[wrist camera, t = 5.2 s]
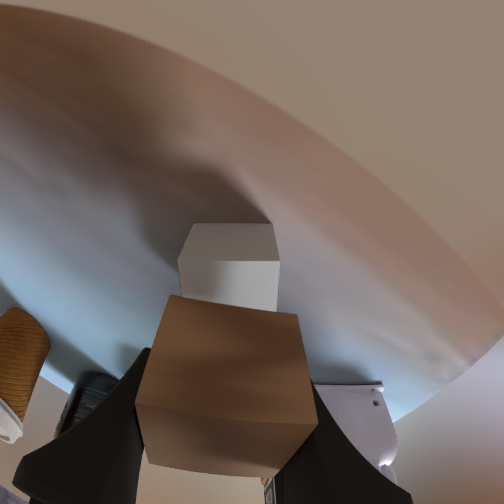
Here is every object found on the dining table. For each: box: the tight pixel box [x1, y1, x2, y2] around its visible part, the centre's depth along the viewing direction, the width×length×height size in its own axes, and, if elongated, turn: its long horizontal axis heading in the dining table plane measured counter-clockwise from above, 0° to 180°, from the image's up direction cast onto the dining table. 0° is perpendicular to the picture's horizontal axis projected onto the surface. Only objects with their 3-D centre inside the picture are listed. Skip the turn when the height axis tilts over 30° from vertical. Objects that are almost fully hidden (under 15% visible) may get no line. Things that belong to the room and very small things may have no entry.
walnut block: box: [135, 295, 318, 478], centre depth 10 cm, size 5×5×5 cm
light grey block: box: [177, 223, 280, 312], centre depth 18 cm, size 5×5×5 cm
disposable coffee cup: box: [0, 308, 50, 444], centre depth 18 cm, size 10×10×12 cm
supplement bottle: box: [54, 372, 118, 439], centre depth 22 cm, size 7×7×12 cm
